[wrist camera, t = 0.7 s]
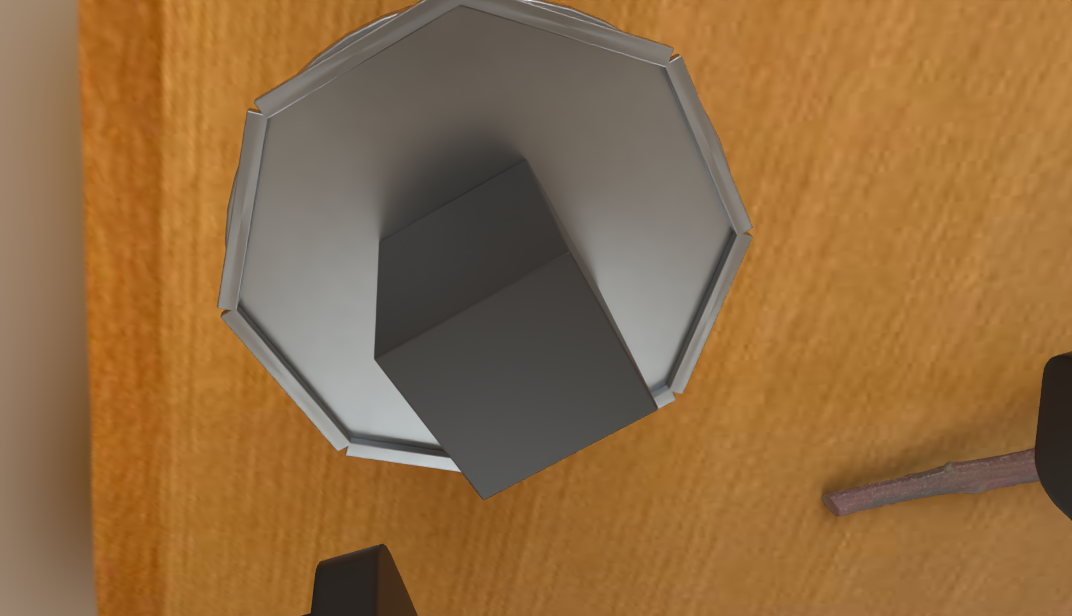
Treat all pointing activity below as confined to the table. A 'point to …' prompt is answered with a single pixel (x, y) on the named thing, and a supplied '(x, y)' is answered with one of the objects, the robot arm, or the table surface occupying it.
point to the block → (502, 334)
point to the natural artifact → (938, 482)
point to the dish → (456, 168)
